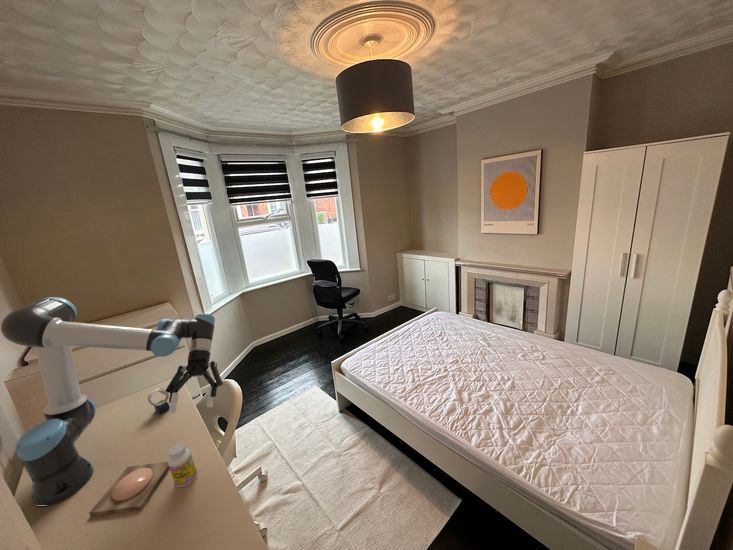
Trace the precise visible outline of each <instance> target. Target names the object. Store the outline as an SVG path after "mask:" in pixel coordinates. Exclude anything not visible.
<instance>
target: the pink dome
mask: <svg viewBox="0 0 733 550" xmlns="http://www.w3.org/2000/svg"><path fill="white" fill-rule="evenodd" d="M152 478H153V472H152V470H151V469H150V468H141V469H138V470H135V471H133V472H131V473H130V474H128V475H126V476H125V477H124V478H122V479H121V480H120V481H119V482H118V483H117V484H116V486H115V487H114V489H113V490H112V497H113V499H114V500H115V501H124V500H127V499H130V498H132V497H134V496H135V495H137V494H139V493H140V492H141V491H142V490H144V489H145V488H146V487H147V486H148V484H149V483H150V482H151V480H152Z"/></svg>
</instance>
